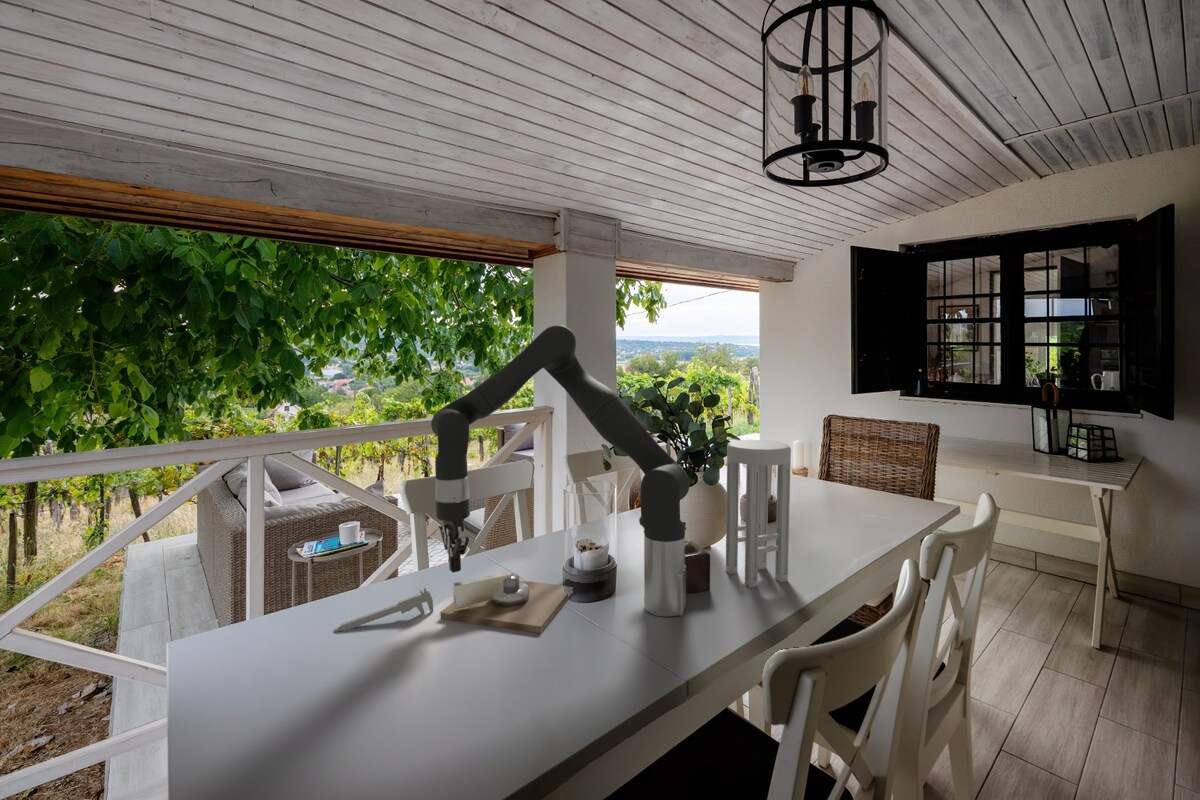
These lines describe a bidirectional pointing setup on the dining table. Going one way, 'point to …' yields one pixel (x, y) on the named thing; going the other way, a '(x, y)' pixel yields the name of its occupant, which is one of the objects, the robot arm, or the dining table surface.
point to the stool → (758, 507)
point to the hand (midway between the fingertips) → (455, 570)
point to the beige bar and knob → (491, 590)
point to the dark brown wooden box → (695, 567)
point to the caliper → (391, 610)
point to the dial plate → (514, 610)
